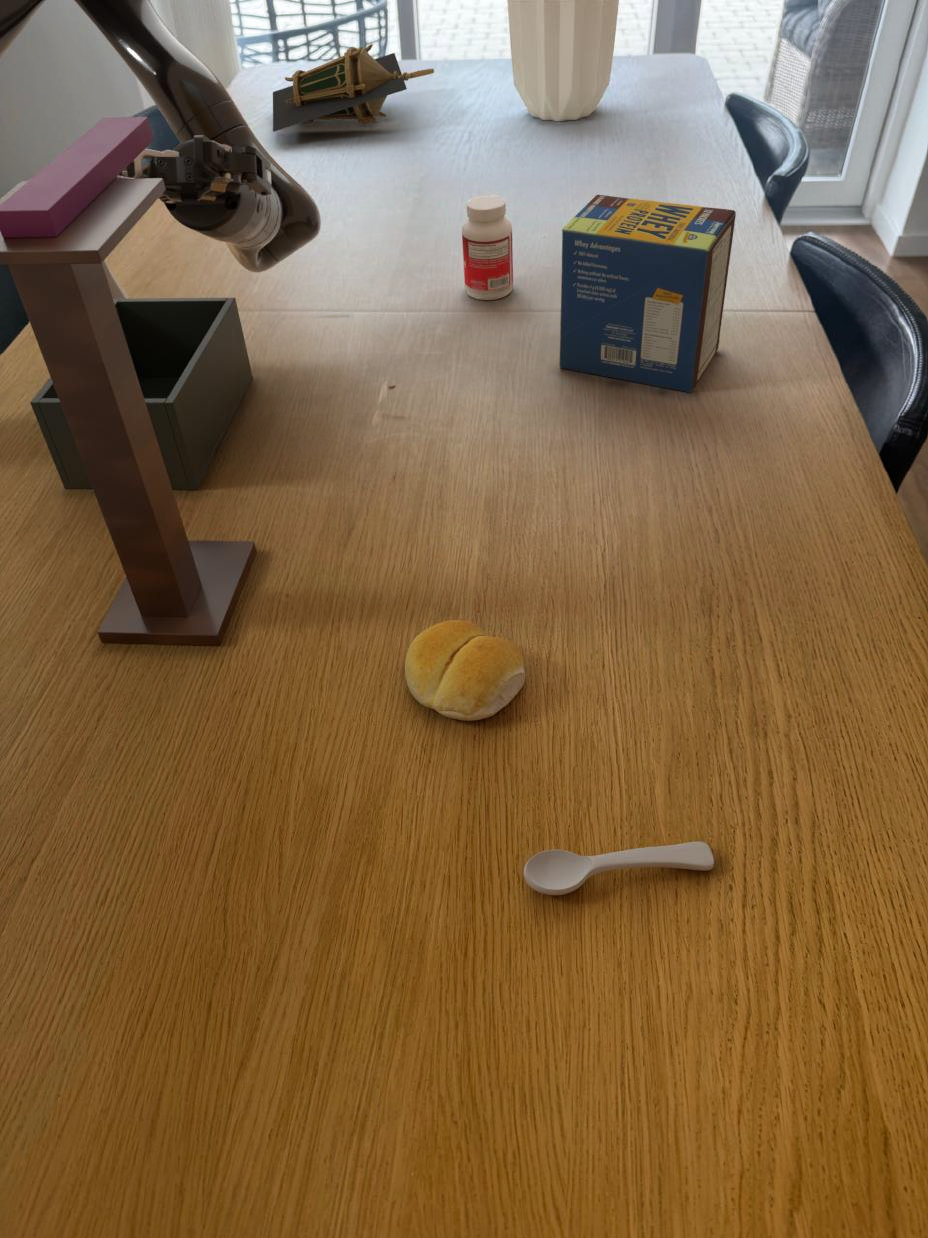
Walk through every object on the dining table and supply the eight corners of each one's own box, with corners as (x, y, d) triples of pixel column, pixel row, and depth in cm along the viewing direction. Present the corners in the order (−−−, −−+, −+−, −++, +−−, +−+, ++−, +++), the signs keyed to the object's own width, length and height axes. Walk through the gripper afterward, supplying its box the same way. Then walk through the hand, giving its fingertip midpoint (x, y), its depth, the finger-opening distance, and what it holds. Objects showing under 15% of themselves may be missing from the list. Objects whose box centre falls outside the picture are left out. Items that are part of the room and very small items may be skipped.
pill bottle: (478, 277, 126) (474, 189, 118) (521, 284, 124) (520, 195, 116) (456, 297, 122) (451, 207, 114) (500, 304, 120) (498, 214, 112)
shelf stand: (101, 642, 78) (-66, 252, 57) (149, 549, 87) (20, 180, 65) (220, 646, 77) (97, 250, 56) (257, 551, 86) (163, 177, 64)
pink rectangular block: (2, 238, 58) (-8, 211, 57) (109, 141, 71) (102, 117, 70) (56, 237, 57) (47, 210, 56) (154, 139, 70) (148, 116, 69)
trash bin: (64, 488, 95) (29, 402, 88) (137, 378, 111) (112, 298, 104) (198, 490, 94) (172, 402, 87) (253, 378, 109) (235, 297, 103)
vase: (501, 101, 183) (498, -76, 164) (602, 92, 184) (610, -84, 165) (516, 132, 169) (514, -57, 150) (626, 123, 170) (638, -67, 151)
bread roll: (451, 627, 78) (448, 589, 75) (541, 675, 73) (541, 637, 71) (381, 687, 73) (375, 649, 70) (472, 742, 69) (469, 704, 66)
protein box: (590, 328, 114) (595, 192, 104) (719, 350, 109) (738, 209, 98) (556, 368, 107) (558, 228, 97) (692, 394, 102) (710, 248, 91)
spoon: (518, 863, 61) (520, 845, 60) (700, 846, 62) (706, 827, 61) (526, 905, 59) (529, 887, 58) (715, 886, 60) (721, 868, 59)
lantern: (289, 129, 190) (432, 70, 186) (294, 181, 174) (450, 118, 171) (257, 58, 180) (408, -6, 176) (259, 106, 164) (424, 38, 161)
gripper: (140, 152, 88) (48, 98, 72) (292, 148, 87) (233, 93, 71) (146, 239, 90) (57, 205, 74) (296, 237, 88) (238, 202, 73)
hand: (143, 150), depth 73 cm, fingers open, 8 cm apart
